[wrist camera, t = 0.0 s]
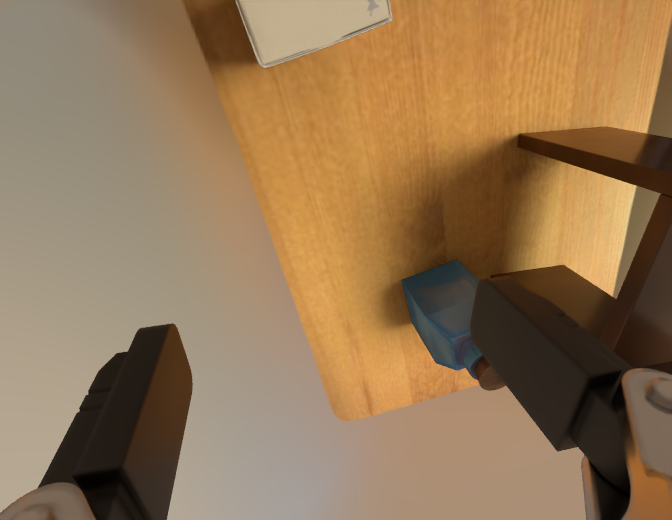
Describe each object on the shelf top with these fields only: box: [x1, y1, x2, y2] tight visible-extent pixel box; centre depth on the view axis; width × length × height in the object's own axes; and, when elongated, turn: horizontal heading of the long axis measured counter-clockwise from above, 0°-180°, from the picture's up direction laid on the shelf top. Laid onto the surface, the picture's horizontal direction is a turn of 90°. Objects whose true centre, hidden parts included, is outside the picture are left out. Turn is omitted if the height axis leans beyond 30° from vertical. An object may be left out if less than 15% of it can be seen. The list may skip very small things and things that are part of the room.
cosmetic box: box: [235, 0, 393, 68], centre depth 19 cm, size 6×4×12 cm
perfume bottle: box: [401, 260, 506, 390], centre depth 34 cm, size 6×6×12 cm
